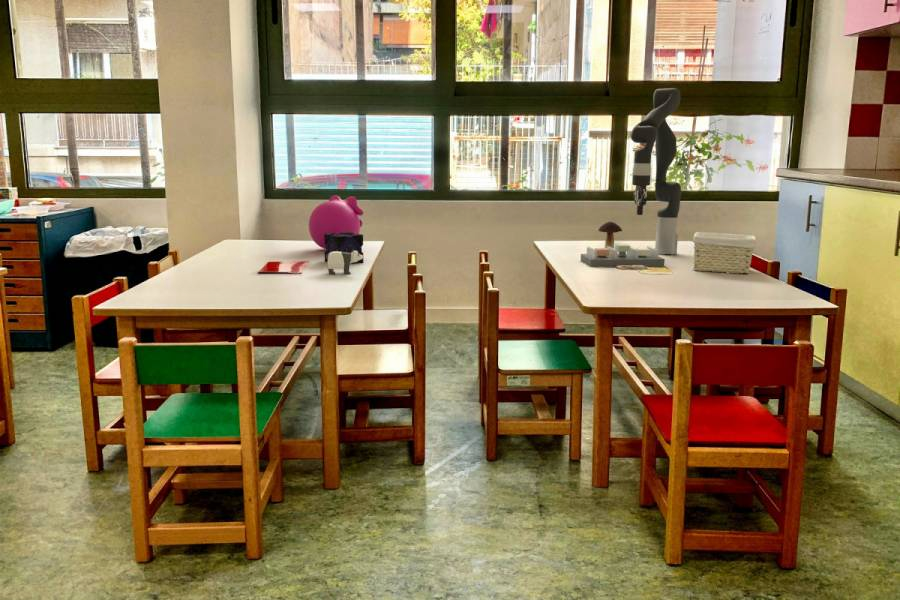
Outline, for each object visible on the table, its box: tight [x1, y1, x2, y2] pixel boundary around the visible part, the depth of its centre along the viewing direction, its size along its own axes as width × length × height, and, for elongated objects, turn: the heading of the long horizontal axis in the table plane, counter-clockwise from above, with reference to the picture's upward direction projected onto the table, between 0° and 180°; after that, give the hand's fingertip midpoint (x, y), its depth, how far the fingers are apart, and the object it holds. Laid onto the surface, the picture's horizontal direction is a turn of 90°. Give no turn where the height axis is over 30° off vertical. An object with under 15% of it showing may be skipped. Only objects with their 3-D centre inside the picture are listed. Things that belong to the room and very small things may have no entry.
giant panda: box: [326, 250, 364, 276], centre depth 301 cm, size 15×6×10 cm, turn 101°
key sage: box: [614, 243, 631, 256], centre depth 333 cm, size 5×5×5 cm
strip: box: [615, 265, 648, 270], centre depth 322 cm, size 12×4×1 cm, turn 96°
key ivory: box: [634, 247, 650, 257], centre depth 334 cm, size 5×5×5 cm
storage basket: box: [692, 231, 757, 275], centre depth 318 cm, size 24×16×15 cm
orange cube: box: [594, 247, 609, 257], centre depth 333 cm, size 5×5×5 cm
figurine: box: [308, 194, 364, 250], centre depth 360 cm, size 23×24×25 cm
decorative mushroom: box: [597, 221, 623, 249], centre depth 360 cm, size 11×11×15 cm
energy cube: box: [324, 232, 364, 264], centre depth 328 cm, size 12×12×12 cm
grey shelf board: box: [580, 246, 666, 268], centre depth 334 cm, size 32×16×6 cm, turn 96°
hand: (639, 214), depth 333 cm, fingers closed
